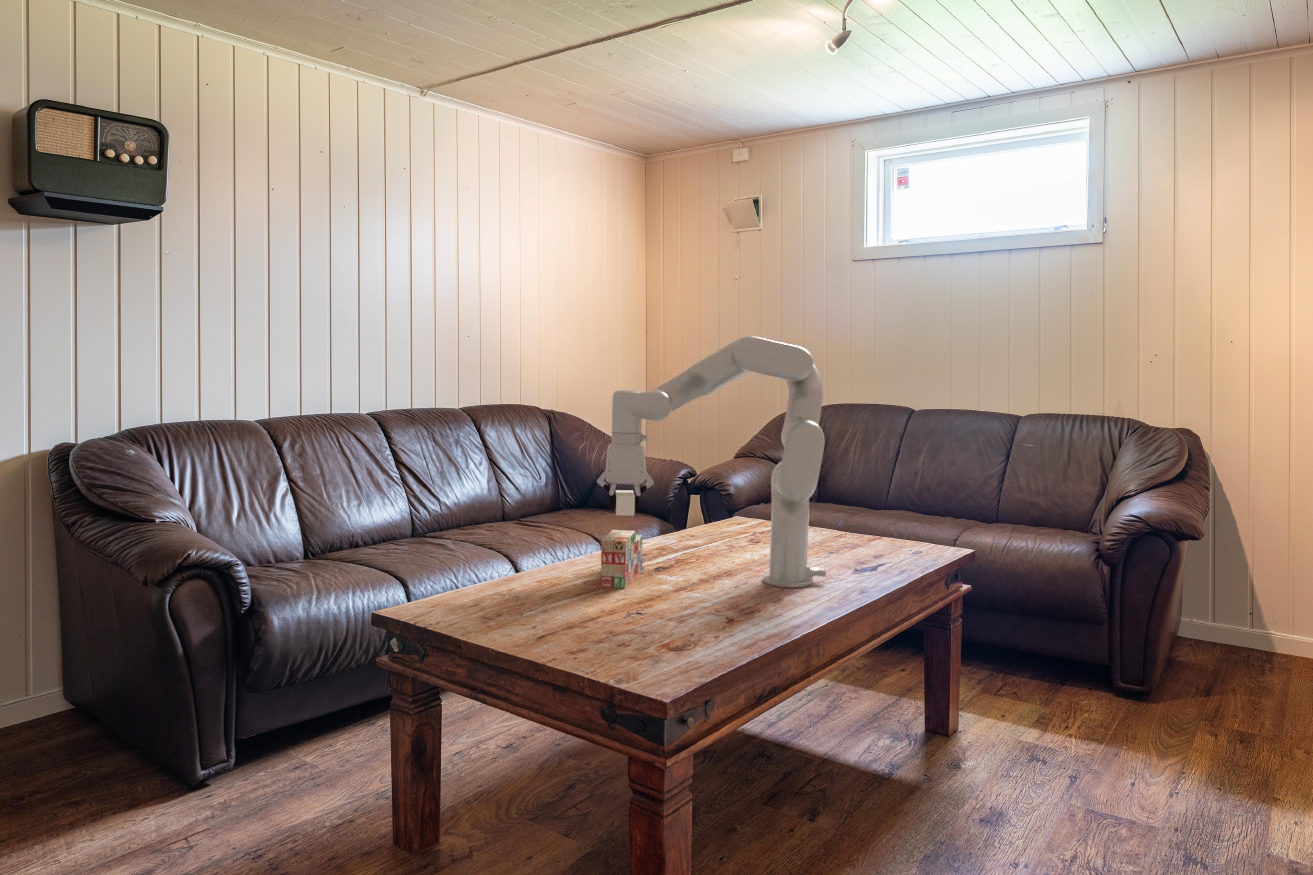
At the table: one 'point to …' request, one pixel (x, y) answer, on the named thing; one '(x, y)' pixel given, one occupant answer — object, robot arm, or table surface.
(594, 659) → the table surface
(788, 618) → the table surface
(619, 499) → the cream bar block
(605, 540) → the stack of blocks
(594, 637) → the table surface
